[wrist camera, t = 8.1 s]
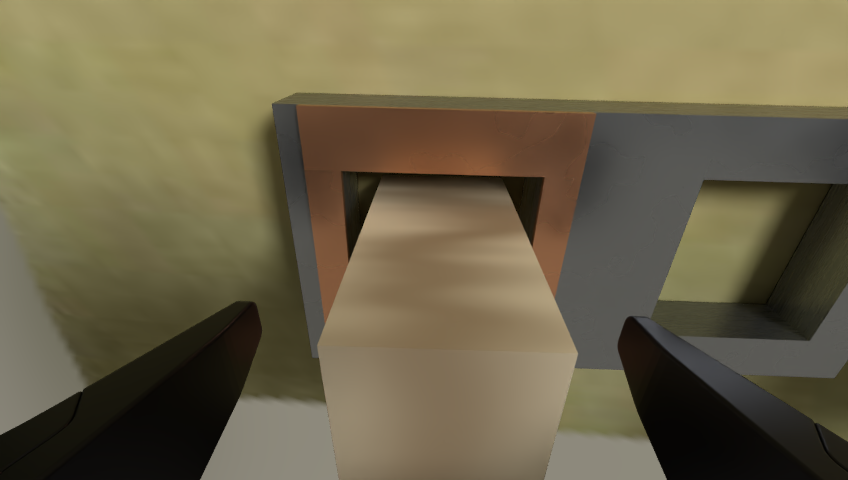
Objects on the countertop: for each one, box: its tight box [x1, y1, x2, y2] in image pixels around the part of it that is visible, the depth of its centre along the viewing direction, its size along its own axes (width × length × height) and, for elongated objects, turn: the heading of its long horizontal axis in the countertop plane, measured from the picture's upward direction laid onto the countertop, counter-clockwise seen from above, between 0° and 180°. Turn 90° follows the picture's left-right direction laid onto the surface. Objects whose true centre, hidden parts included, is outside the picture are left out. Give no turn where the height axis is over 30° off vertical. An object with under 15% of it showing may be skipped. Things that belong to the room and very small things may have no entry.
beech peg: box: [317, 175, 578, 480], centre depth 10 cm, size 4×4×8 cm
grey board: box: [272, 93, 848, 378], centre depth 13 cm, size 19×9×2 cm, turn 89°
